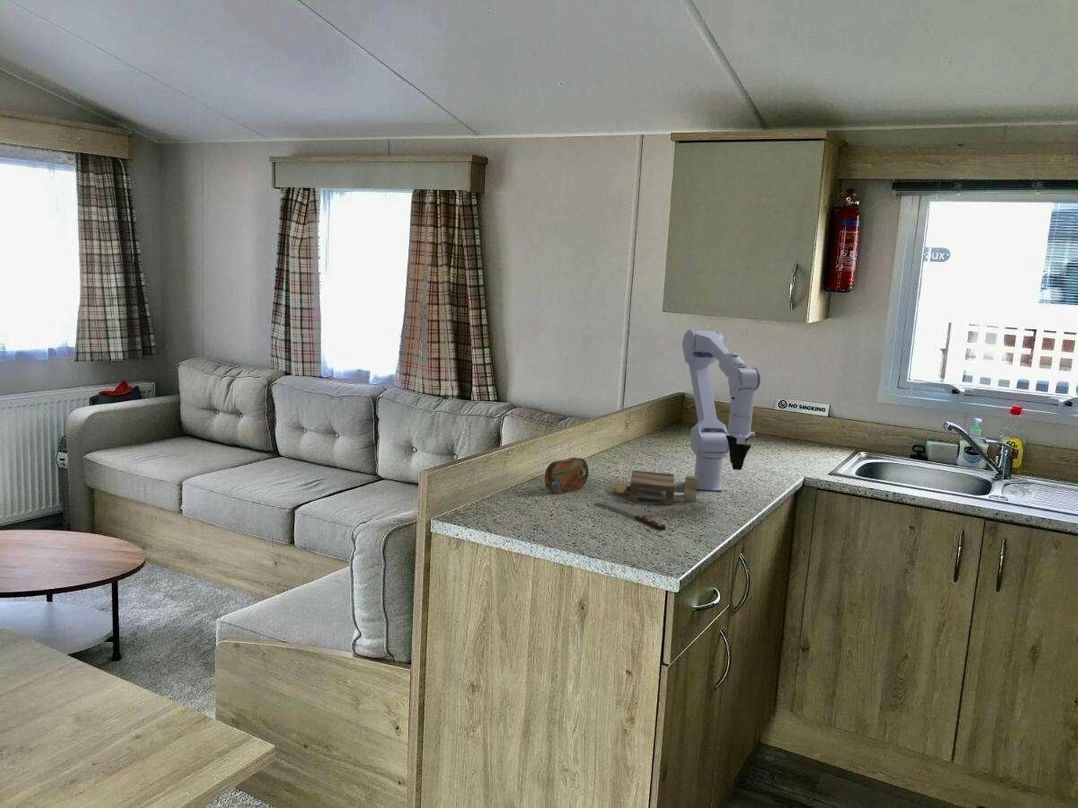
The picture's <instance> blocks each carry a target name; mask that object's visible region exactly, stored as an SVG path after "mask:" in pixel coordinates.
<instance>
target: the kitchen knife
mask: <svg viewBox="0 0 1078 808" xmlns="http://www.w3.org/2000/svg"><path fill="white" fill-rule="evenodd" d="M596 506H597V507H601V508H605V509H608V510H612V511H614V512H617V513H619V514H622V515H624V516H627V517H629V518H631V519H634V520H635V521H638V522H640V523H642V524H644V525H646V526H649V527H651V528H653V529H655V530H658V531H665V530H666V525H665V524H663V523H660V522H657V521H656V520H653V519H650V518H653V517H658V515H657V514H655V513H651V512H649V511H647V510H645V509H641V508H640V507H636V506H634V505H631V504H628V503H625V502H622V501H619V500H596Z"/></svg>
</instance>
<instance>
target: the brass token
mask: <svg viewBox="0 0 1078 808" xmlns="http://www.w3.org/2000/svg"><path fill="white" fill-rule="evenodd" d="M612 494H613V495H616V496H622V497H623V496H625V497H628V496H630V485H629V484H626V483H625V484H623V483H618V484H616V483H615V484H613V486H612Z"/></svg>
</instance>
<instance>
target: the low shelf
mask: <svg viewBox="0 0 1078 808" xmlns="http://www.w3.org/2000/svg"><path fill="white" fill-rule="evenodd" d="M638 489H643V490H654V491H665V492H666V493H665V500H664V505H671V506H672V505H673V504H674V501H673V496H674V492H675V474H674V473H663V472H655V471H654V472H652V471H641V470H632V471H631V477H630V495H629V499H628V500H629V502H638V498H637V497H638Z"/></svg>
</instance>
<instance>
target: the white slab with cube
mask: <svg viewBox="0 0 1078 808" xmlns="http://www.w3.org/2000/svg"><path fill="white" fill-rule="evenodd" d="M684 480H685V481H684V491H683V492H675V491H674V496H673V502H679V501H680V503H681V502H683V503H685V501H686V502H695V501H696V502H697V493H698V489H697V483H698V477H697V476H694V475H688V474H686V475H685V479H684ZM665 493H666V492H665V491H664V490H654V489H643V488H639V489H638V497H637V499H638V498H639V499H646V500H647V499H649V500H658V501H659V500H661V501H665ZM684 500H685V501H684Z"/></svg>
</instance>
